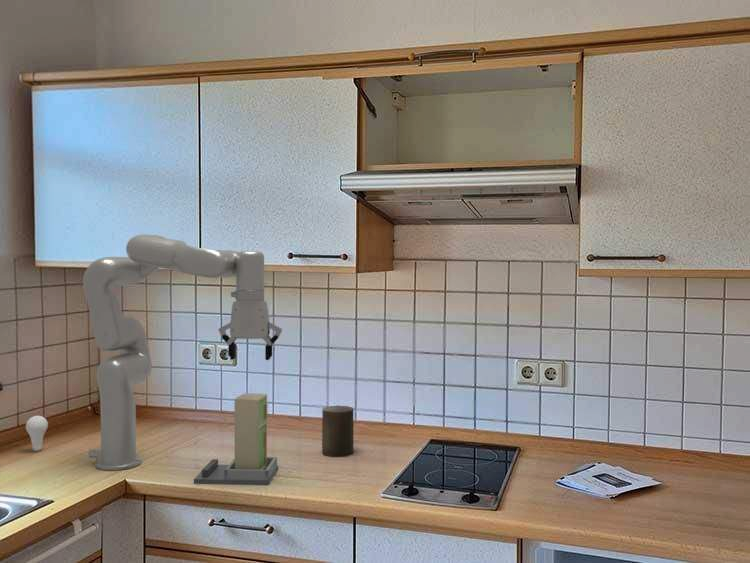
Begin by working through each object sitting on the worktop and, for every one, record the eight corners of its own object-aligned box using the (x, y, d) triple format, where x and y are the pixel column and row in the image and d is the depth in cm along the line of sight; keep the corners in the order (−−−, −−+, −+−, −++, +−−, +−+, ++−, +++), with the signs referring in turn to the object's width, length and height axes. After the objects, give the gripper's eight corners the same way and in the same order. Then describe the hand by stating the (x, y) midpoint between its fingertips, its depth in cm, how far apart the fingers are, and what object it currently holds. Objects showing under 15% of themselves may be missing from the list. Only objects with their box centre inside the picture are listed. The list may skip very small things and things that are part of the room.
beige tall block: (260, 477, 186) (259, 399, 185) (234, 475, 187) (233, 398, 186) (269, 468, 194) (269, 393, 193) (244, 467, 195) (244, 392, 194)
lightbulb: (49, 447, 219) (48, 413, 218) (46, 452, 213) (46, 417, 213) (27, 449, 217) (27, 414, 217) (24, 454, 211) (24, 418, 211)
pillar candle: (350, 457, 208) (350, 407, 208) (318, 456, 210) (319, 406, 209) (356, 449, 218) (356, 401, 218) (325, 447, 219) (325, 400, 219)
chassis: (193, 483, 184) (193, 469, 184) (208, 468, 198) (208, 455, 197) (268, 485, 183) (268, 471, 183) (278, 469, 196) (278, 456, 196)
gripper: (214, 297, 186) (215, 360, 186) (279, 297, 185) (279, 361, 185) (222, 295, 193) (222, 356, 194) (284, 296, 192) (284, 357, 193)
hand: (250, 359), depth 189 cm, fingers open, 9 cm apart
